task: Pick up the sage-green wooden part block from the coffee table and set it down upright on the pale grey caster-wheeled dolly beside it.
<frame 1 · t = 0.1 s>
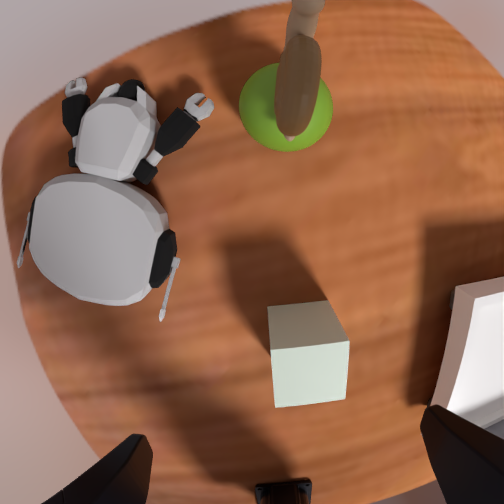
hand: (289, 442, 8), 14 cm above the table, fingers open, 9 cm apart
dolly: (482, 342, 23), on the table
robot toy: (120, 187, 21), on the table
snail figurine: (282, 108, 19), on the table
part block: (299, 330, 23), on the table
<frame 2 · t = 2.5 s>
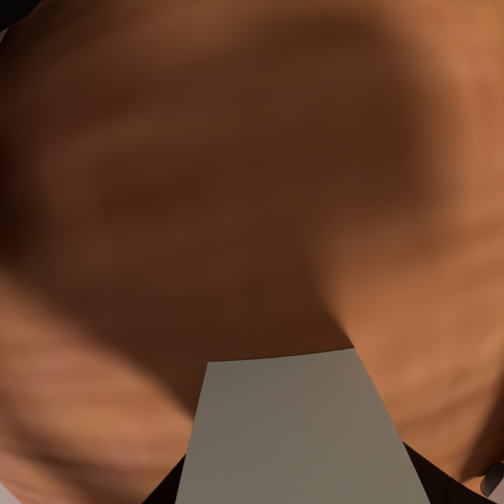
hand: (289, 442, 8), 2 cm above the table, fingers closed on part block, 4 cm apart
part block: (285, 409, 9), on the table, touching gripper
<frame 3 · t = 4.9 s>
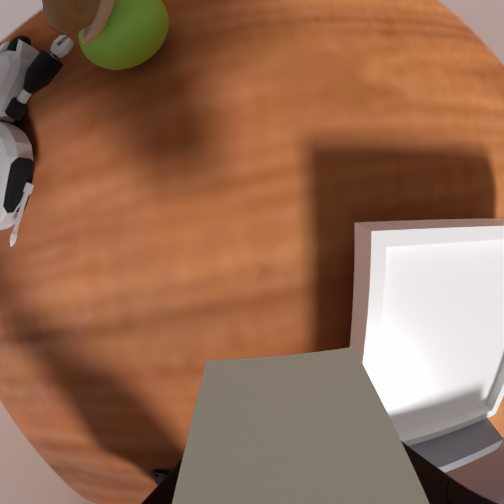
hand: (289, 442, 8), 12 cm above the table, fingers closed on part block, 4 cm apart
dolly: (427, 321, 20), on the table
robot toy: (11, 131, 17), on the table
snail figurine: (141, 38, 16), on the table
part block: (284, 408, 9), point 10 cm above the table, touching gripper
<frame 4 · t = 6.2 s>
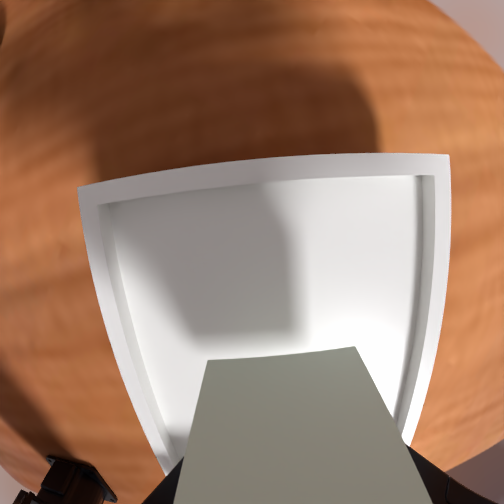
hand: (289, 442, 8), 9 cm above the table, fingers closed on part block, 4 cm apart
dolly: (276, 316, 17), on the table
part block: (285, 408, 9), point 7 cm above the table, touching gripper
when the fingers open (7 cm above the table, at t = 7.3 s): part block drops 1 cm, resting on dolly.
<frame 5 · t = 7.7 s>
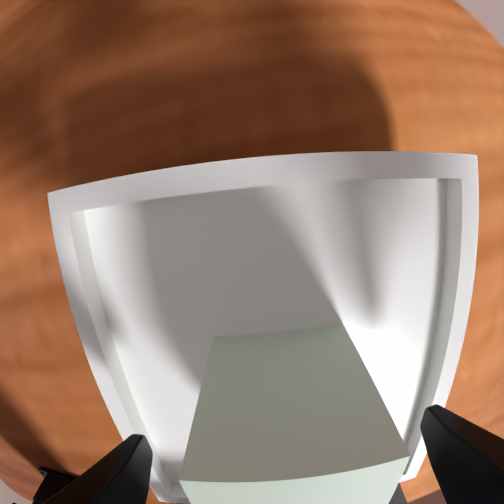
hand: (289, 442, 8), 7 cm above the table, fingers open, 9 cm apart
dolly: (277, 334, 15), on the table
part block: (282, 383, 11), point 4 cm above the table, touching dolly
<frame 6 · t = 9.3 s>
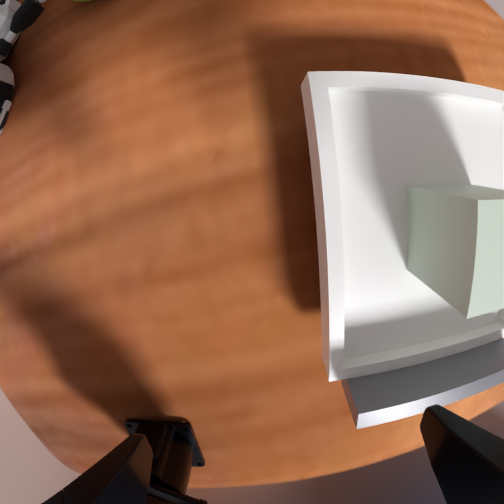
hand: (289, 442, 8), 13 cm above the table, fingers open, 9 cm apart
dolly: (411, 215, 19), on the table
part block: (441, 225, 15), point 4 cm above the table, touching dolly
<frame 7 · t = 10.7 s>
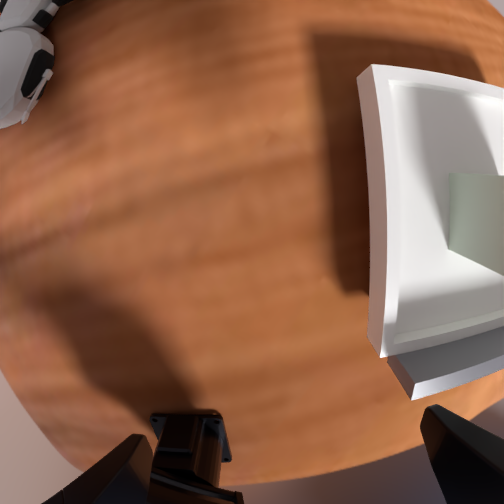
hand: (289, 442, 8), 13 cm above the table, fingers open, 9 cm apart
dolly: (443, 204, 19), on the table
robot toy: (31, 49, 16), on the table
part block: (476, 210, 15), point 4 cm above the table, touching dolly
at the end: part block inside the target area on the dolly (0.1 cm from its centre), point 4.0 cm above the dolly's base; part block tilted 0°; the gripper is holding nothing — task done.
